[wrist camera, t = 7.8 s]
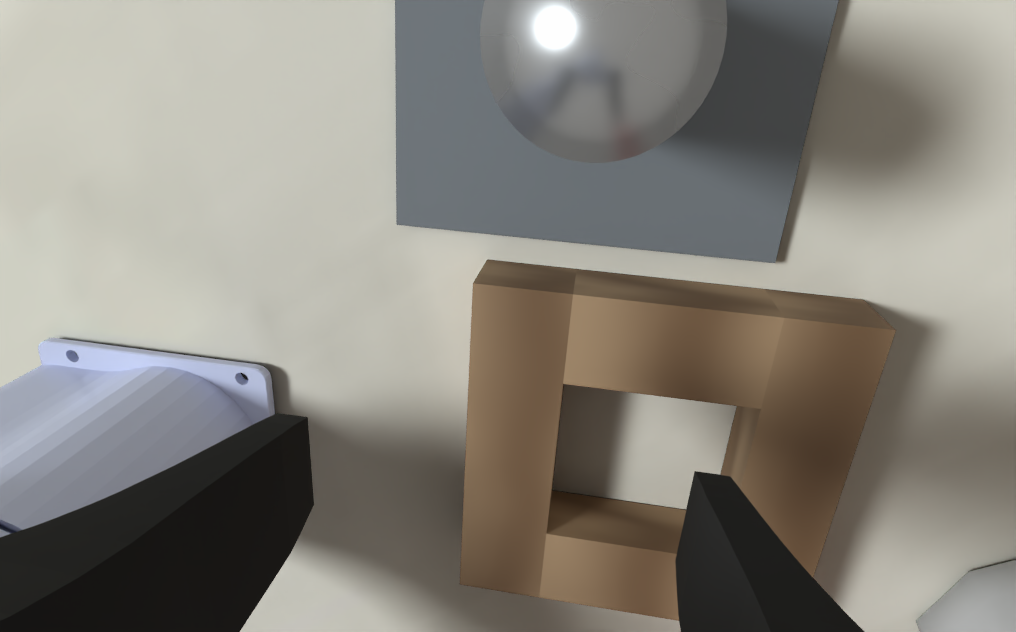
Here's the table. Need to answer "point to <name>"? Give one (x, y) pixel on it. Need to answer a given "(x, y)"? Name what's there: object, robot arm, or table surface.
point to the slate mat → (620, 184)
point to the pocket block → (661, 372)
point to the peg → (601, 70)
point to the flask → (976, 603)
